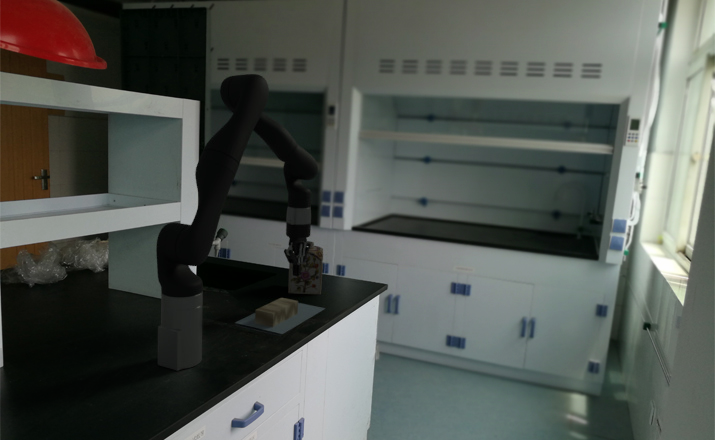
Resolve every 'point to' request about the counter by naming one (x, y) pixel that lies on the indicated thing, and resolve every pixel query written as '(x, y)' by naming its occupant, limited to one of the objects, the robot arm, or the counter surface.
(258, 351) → the counter surface
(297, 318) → the mat
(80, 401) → the counter surface
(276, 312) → the maple block
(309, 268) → the decorative jar
